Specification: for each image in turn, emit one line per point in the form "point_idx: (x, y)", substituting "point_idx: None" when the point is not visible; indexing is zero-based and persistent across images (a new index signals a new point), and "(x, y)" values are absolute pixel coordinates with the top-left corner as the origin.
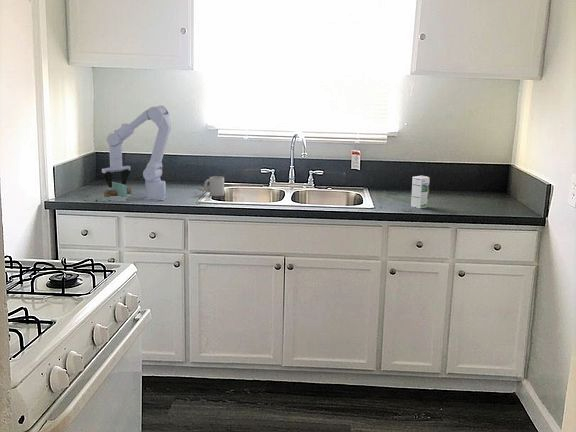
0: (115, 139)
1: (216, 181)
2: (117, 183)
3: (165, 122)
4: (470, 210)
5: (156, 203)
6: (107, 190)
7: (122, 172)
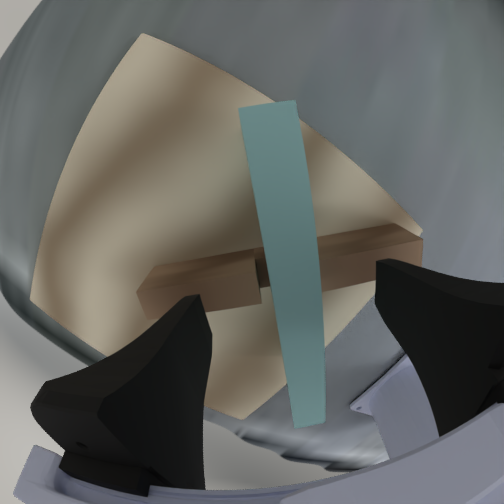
0: None
1: None
2: (301, 333)
3: None
4: None
5: (346, 444)
6: (177, 287)
7: (475, 373)
